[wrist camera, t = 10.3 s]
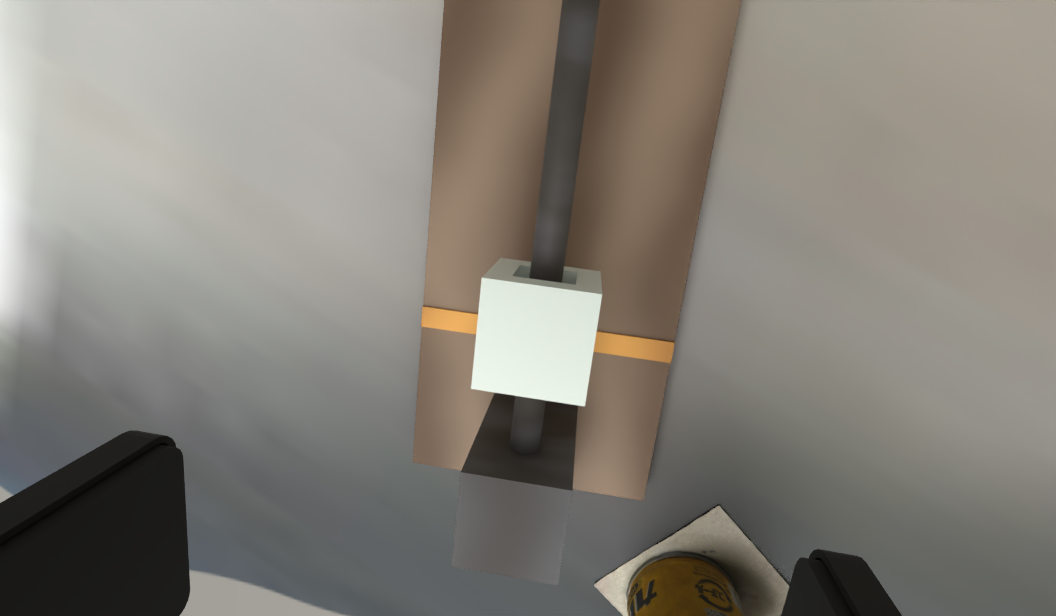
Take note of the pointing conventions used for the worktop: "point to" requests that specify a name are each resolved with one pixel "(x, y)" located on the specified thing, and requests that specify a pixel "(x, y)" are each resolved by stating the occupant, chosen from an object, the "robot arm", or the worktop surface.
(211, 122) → the worktop surface
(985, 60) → the worktop surface
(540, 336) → the sleeve
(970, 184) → the worktop surface
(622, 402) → the rod slider rig
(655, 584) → the condiment
